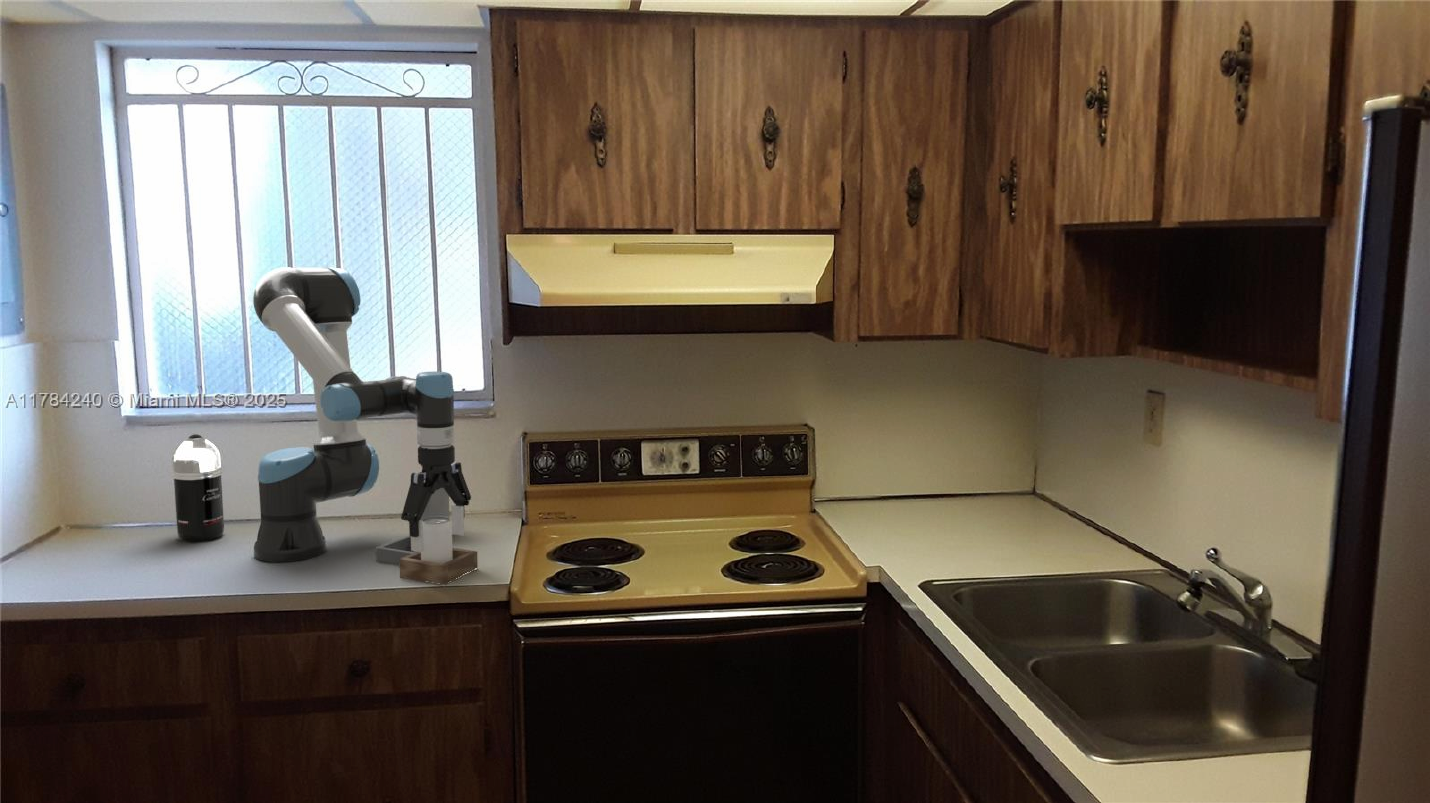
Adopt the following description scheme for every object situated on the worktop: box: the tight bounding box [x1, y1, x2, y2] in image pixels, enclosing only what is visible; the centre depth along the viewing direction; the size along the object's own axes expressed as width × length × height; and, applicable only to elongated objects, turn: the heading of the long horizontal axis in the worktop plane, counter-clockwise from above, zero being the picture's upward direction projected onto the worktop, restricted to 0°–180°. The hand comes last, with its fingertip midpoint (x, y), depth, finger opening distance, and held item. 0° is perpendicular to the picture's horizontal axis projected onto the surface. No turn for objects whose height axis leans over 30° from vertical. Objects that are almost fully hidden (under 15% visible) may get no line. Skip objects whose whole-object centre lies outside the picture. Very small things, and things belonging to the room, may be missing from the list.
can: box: [421, 516, 453, 564], centre depth 211 cm, size 6×6×12 cm
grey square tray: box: [375, 534, 416, 565], centre depth 223 cm, size 11×11×3 cm
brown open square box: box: [398, 547, 479, 585], centre depth 212 cm, size 12×12×4 cm
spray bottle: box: [171, 433, 225, 543], centre depth 234 cm, size 10×10×25 cm
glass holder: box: [419, 471, 451, 523], centre depth 243 cm, size 9×14×15 cm, turn 29°
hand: (438, 542), depth 212 cm, fingers open, 13 cm apart
